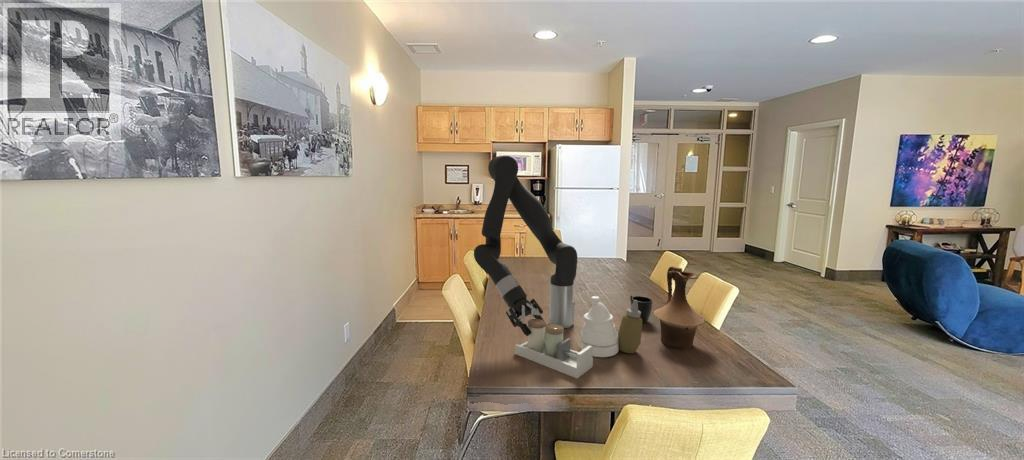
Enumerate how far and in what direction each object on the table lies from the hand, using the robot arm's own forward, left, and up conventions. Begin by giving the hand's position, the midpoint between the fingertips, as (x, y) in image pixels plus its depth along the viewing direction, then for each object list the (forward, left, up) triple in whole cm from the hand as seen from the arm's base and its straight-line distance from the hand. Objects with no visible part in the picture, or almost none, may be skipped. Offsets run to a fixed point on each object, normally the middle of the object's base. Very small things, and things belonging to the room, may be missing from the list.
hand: (536, 330), depth 128 cm
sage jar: (-2, +7, -7) cm, 10 cm away
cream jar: (0, 0, -7) cm, 7 cm away
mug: (-56, -6, -8) cm, 57 cm away
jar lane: (-2, +6, -8) cm, 10 cm away
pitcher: (-50, +17, -8) cm, 54 cm away
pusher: (-4, +12, -7) cm, 14 cm away
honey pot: (-21, +8, -8) cm, 24 cm away
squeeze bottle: (-29, +13, -8) cm, 33 cm away
